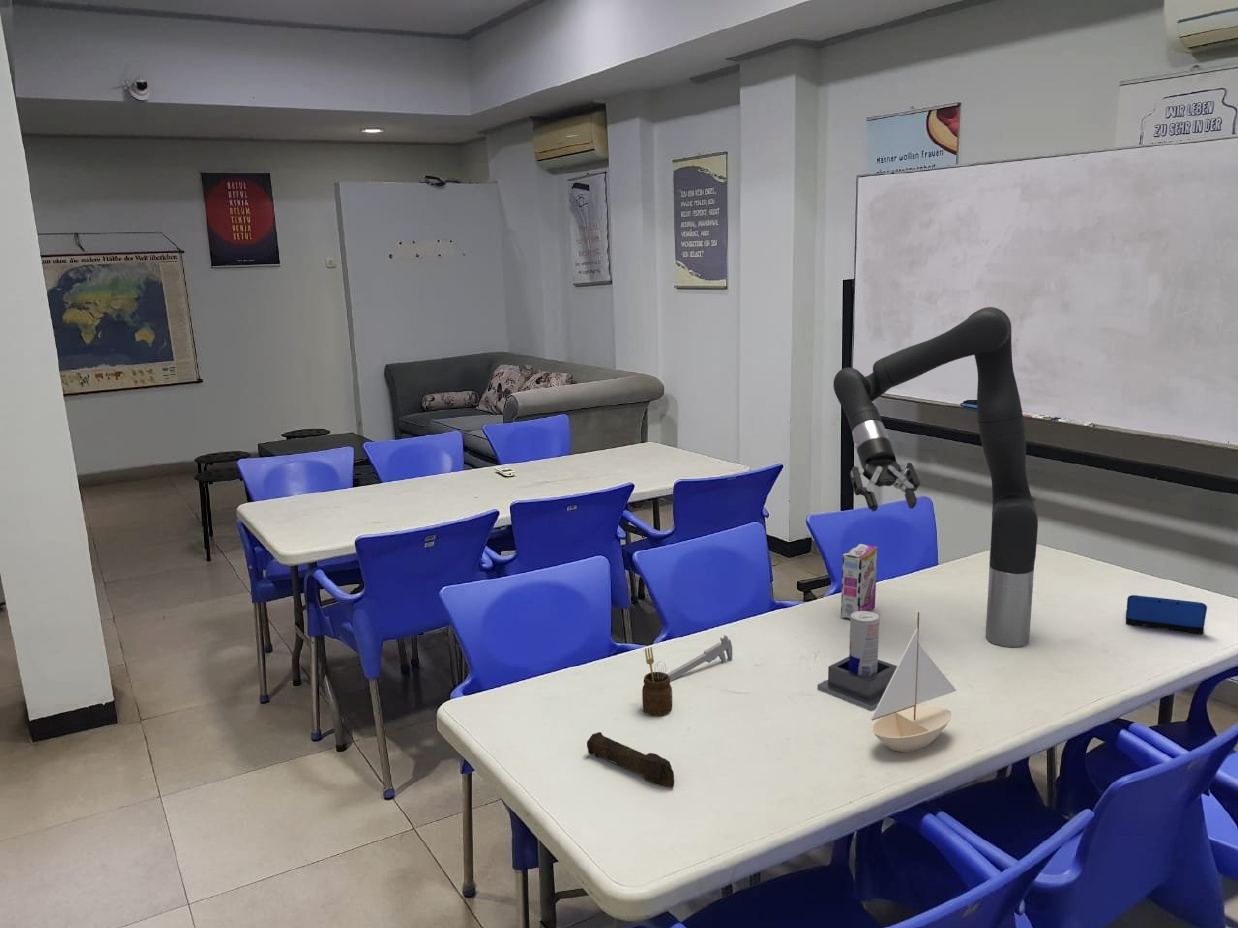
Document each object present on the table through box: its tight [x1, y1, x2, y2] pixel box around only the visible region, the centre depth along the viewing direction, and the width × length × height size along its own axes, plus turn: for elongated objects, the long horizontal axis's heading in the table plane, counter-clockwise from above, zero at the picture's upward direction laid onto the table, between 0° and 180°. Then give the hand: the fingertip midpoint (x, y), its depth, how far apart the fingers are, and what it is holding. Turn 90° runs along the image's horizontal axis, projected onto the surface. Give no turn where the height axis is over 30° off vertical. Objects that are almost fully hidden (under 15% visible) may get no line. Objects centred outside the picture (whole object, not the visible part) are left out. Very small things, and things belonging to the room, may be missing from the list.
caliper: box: [667, 634, 733, 682], centre depth 200 cm, size 20×1×6 cm, turn 124°
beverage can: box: [848, 611, 880, 678], centre depth 188 cm, size 6×6×15 cm
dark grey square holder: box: [817, 656, 898, 712], centre depth 189 cm, size 13×13×5 cm
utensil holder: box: [641, 646, 673, 717], centre depth 183 cm, size 6×6×12 cm
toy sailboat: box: [870, 611, 957, 753], centre depth 166 cm, size 21×25×9 cm
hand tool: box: [586, 731, 675, 788], centre depth 162 cm, size 19×4×5 cm, turn 45°
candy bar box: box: [840, 543, 879, 621], centre depth 228 cm, size 11×5×16 cm, turn 144°
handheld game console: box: [1125, 594, 1208, 636], centre depth 215 cm, size 16×13×9 cm
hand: (894, 508), depth 198 cm, fingers open, 8 cm apart
